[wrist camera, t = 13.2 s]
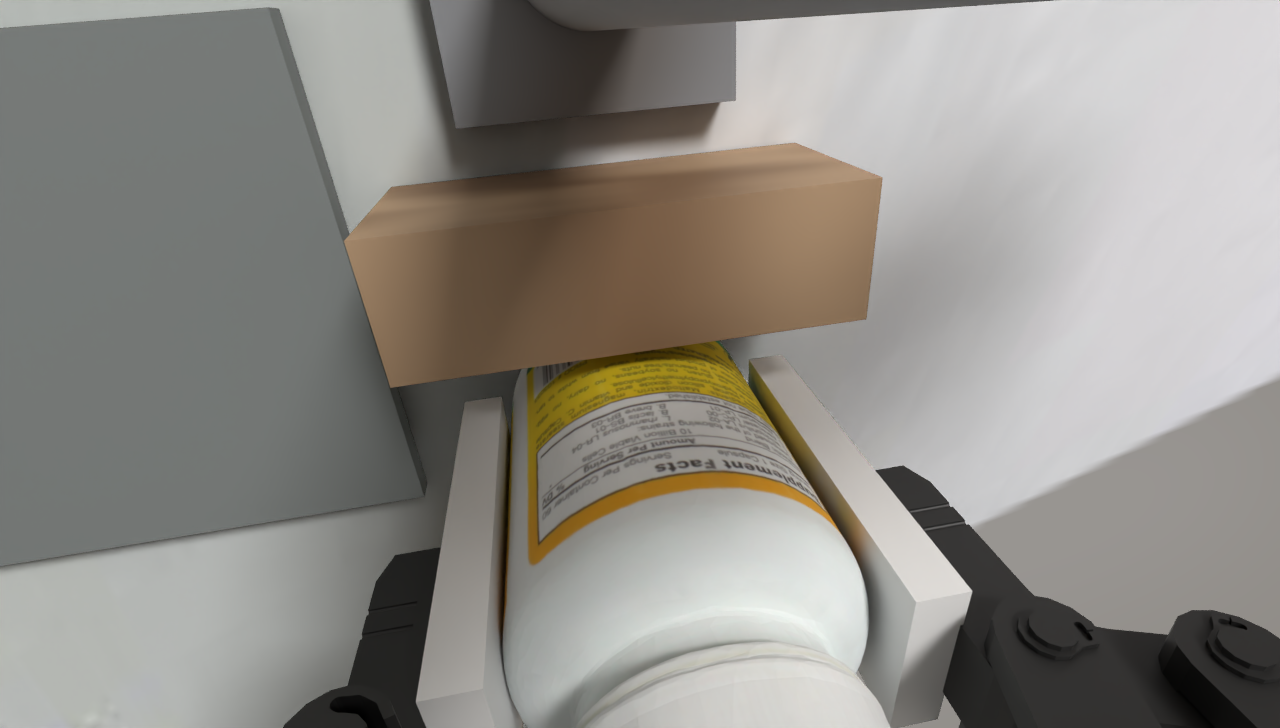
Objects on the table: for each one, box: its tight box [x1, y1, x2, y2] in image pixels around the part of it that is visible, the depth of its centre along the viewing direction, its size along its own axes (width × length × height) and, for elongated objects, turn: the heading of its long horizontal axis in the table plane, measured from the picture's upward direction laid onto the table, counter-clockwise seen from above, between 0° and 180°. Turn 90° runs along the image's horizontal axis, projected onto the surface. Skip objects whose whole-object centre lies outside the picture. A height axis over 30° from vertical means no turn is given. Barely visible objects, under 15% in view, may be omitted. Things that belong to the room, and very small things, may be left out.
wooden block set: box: [344, 0, 882, 388], centre depth 12 cm, size 8×17×4 cm, turn 5°
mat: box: [0, 8, 427, 566], centre depth 12 cm, size 10×10×1 cm
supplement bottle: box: [502, 340, 891, 728], centre depth 11 cm, size 5×5×10 cm
